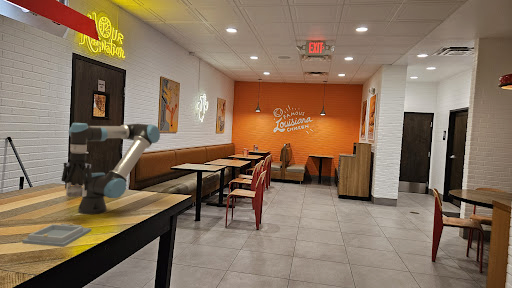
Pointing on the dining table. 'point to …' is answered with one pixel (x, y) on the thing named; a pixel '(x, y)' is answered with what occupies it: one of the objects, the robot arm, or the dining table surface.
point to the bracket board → (57, 235)
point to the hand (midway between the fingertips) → (76, 195)
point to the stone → (75, 191)
